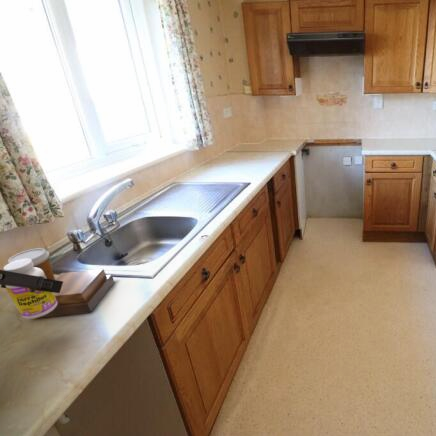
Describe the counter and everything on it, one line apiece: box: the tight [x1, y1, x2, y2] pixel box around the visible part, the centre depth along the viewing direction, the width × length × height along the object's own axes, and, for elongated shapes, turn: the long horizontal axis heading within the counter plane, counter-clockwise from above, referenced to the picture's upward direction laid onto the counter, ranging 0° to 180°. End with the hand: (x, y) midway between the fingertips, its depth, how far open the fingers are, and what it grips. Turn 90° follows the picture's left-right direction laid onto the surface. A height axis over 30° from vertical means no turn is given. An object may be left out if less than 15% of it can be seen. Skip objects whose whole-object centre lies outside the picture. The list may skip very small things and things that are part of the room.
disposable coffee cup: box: [7, 247, 56, 280], centre depth 98 cm, size 10×10×12 cm
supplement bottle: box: [3, 258, 57, 320], centre depth 73 cm, size 7×7×13 cm
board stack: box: [37, 268, 115, 319], centre depth 94 cm, size 14×14×6 cm
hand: (46, 286), depth 76 cm, fingers closed on supplement bottle, 7 cm apart
